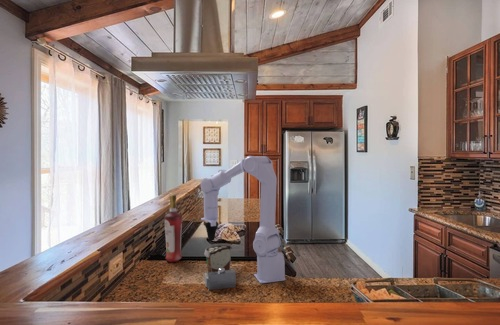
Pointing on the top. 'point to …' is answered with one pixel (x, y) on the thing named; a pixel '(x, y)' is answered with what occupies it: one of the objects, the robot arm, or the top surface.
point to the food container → (218, 257)
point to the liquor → (173, 232)
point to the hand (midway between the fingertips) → (211, 240)
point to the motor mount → (220, 279)
